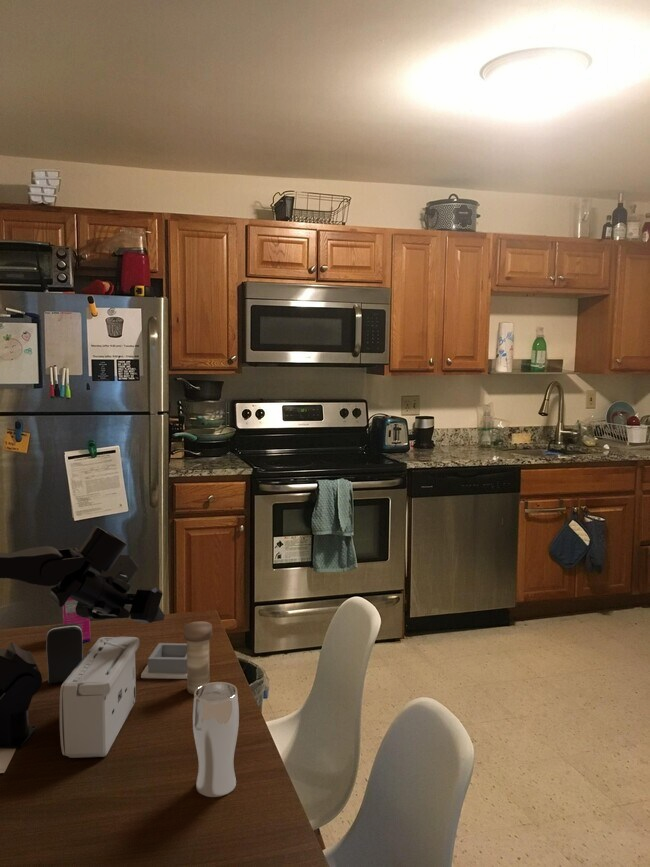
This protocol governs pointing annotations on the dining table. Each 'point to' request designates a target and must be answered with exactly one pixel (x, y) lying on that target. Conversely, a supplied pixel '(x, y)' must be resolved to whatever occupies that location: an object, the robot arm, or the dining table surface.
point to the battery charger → (63, 651)
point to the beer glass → (215, 737)
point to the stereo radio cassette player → (98, 697)
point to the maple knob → (197, 653)
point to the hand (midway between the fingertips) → (146, 616)
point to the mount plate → (167, 662)
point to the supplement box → (76, 618)
